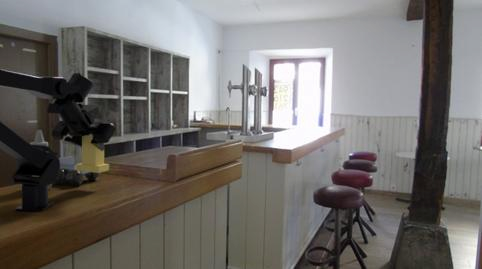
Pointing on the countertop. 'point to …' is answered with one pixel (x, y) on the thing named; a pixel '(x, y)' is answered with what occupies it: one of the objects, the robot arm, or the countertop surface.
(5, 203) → the countertop surface
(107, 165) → the yellow block on base
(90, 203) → the countertop surface
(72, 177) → the trolley
